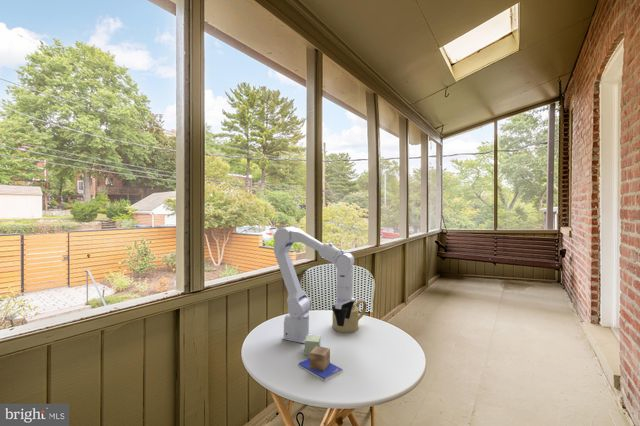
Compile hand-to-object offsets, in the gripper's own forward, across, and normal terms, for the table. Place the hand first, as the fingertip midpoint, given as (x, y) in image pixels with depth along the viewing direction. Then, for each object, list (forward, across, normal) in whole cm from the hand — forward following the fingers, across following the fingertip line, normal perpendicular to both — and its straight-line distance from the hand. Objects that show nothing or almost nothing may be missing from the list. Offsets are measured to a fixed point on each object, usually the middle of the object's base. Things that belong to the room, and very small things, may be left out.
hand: (343, 321), depth 119 cm
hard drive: (+10, -17, +2) cm, 20 cm away
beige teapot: (+10, +19, +4) cm, 22 cm away
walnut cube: (+9, -17, +2) cm, 19 cm away
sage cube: (+10, -8, +9) cm, 15 cm away
